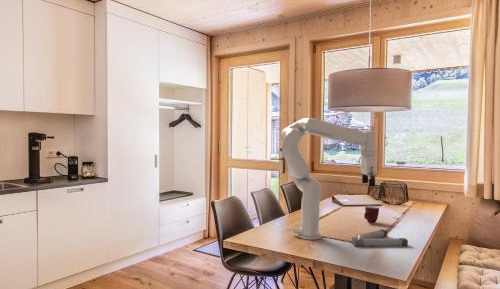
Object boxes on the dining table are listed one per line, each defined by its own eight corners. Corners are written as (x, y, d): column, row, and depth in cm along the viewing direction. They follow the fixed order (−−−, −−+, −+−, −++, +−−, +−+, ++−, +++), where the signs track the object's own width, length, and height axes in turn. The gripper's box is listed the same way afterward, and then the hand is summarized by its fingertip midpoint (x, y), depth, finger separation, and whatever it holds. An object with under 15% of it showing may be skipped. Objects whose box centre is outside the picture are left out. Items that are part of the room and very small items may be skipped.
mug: (371, 226, 208) (372, 209, 207) (359, 223, 214) (360, 207, 213) (380, 223, 215) (381, 207, 214) (369, 220, 221) (369, 204, 220)
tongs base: (354, 246, 171) (355, 238, 171) (351, 243, 176) (351, 235, 176) (408, 246, 172) (408, 238, 172) (403, 243, 177) (403, 235, 177)
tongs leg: (360, 242, 176) (361, 236, 176) (356, 241, 179) (356, 235, 179) (387, 236, 188) (387, 230, 188) (382, 234, 191) (382, 229, 191)
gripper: (355, 152, 197) (356, 182, 198) (367, 155, 180) (367, 187, 181) (368, 152, 198) (369, 181, 199) (381, 154, 180) (381, 187, 181)
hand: (368, 184), depth 190 cm, fingers open, 9 cm apart
